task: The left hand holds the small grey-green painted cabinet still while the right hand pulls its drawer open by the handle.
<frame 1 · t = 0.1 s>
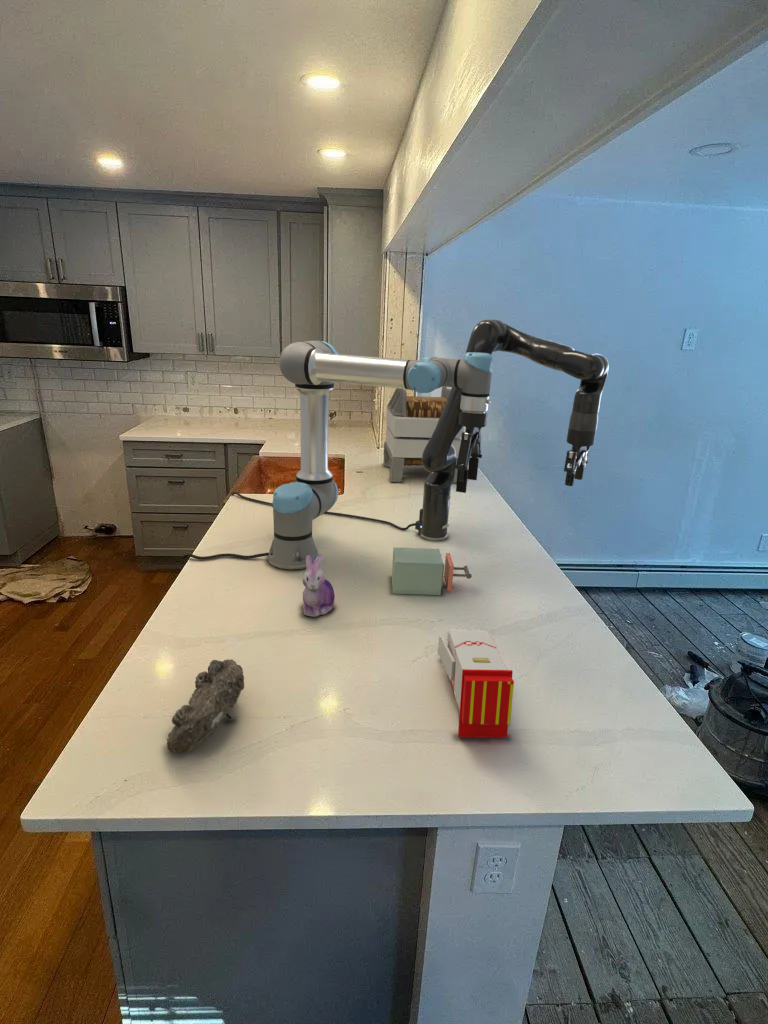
left hand: (466, 485, 162), 28 cm above the counter, tool pointing down, fingers open, 13 cm apart
right hand: (573, 482, 165), 29 cm above the counter, tool pointing down, fingers open, 8 cm apart
fossil: (212, 717, 108), on the counter
drawer: (439, 571, 161), point 5 cm above the counter, slide at 1.9 cm
figurine: (318, 609, 148), on the counter
cabinet: (415, 585, 163), on the counter
toy: (469, 691, 119), on the counter
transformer: (419, 473, 275), on the counter
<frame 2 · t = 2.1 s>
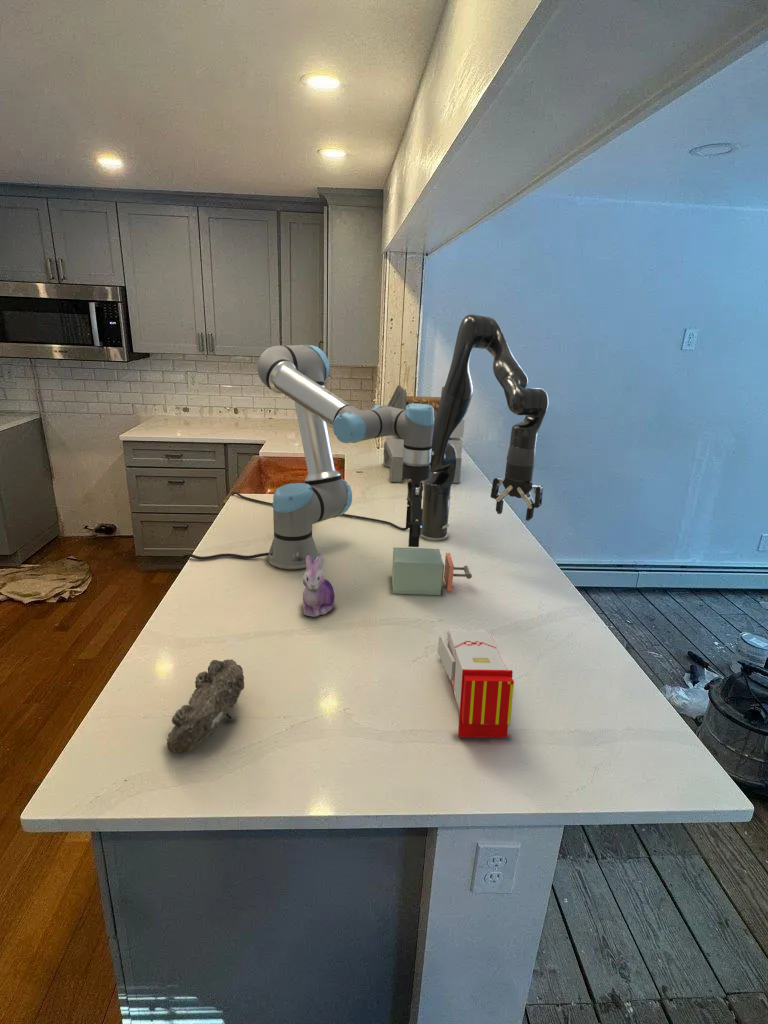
left hand: (411, 536, 158), 15 cm above the counter, tool pointing down, fingers open, 13 cm apart
right hand: (513, 516, 162), 20 cm above the counter, tool pointing down, fingers open, 8 cm apart
nothing on the counter moved.
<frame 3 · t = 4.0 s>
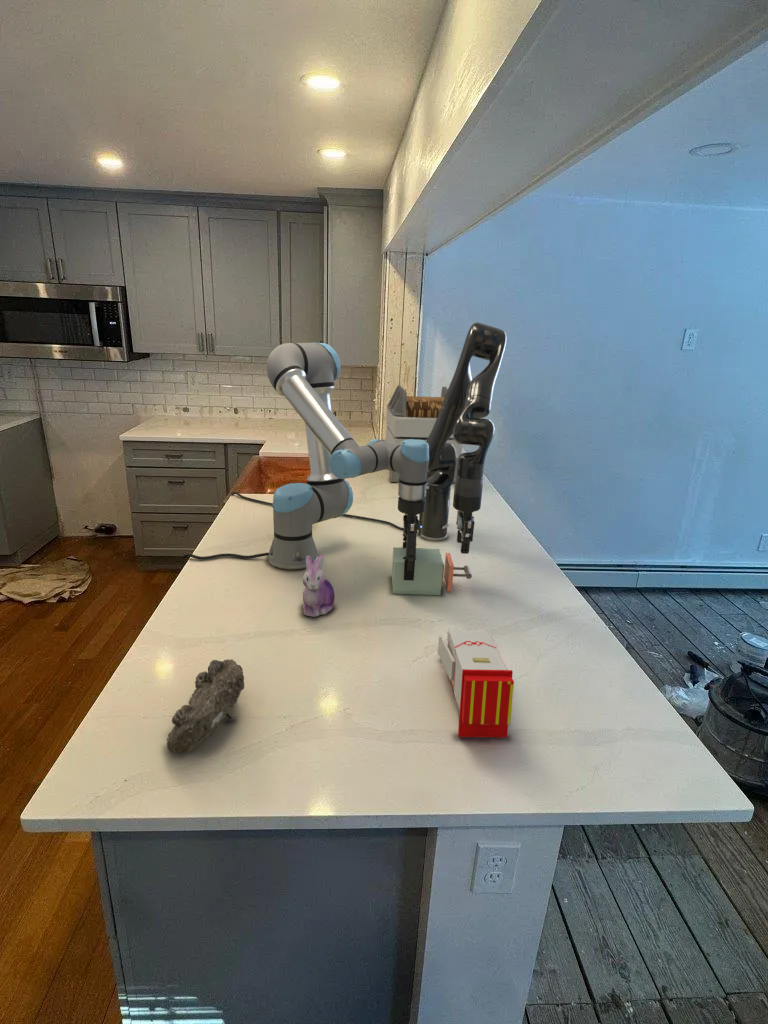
left hand: (407, 571, 161), 5 cm above the counter, tool pointing down, fingers closed on cabinet, 10 cm apart
right hand: (462, 547, 159), 12 cm above the counter, tool pointing down, fingers open, 7 cm apart
cabinet: (415, 585, 163), on the counter, touching left hand
everything else where it was.
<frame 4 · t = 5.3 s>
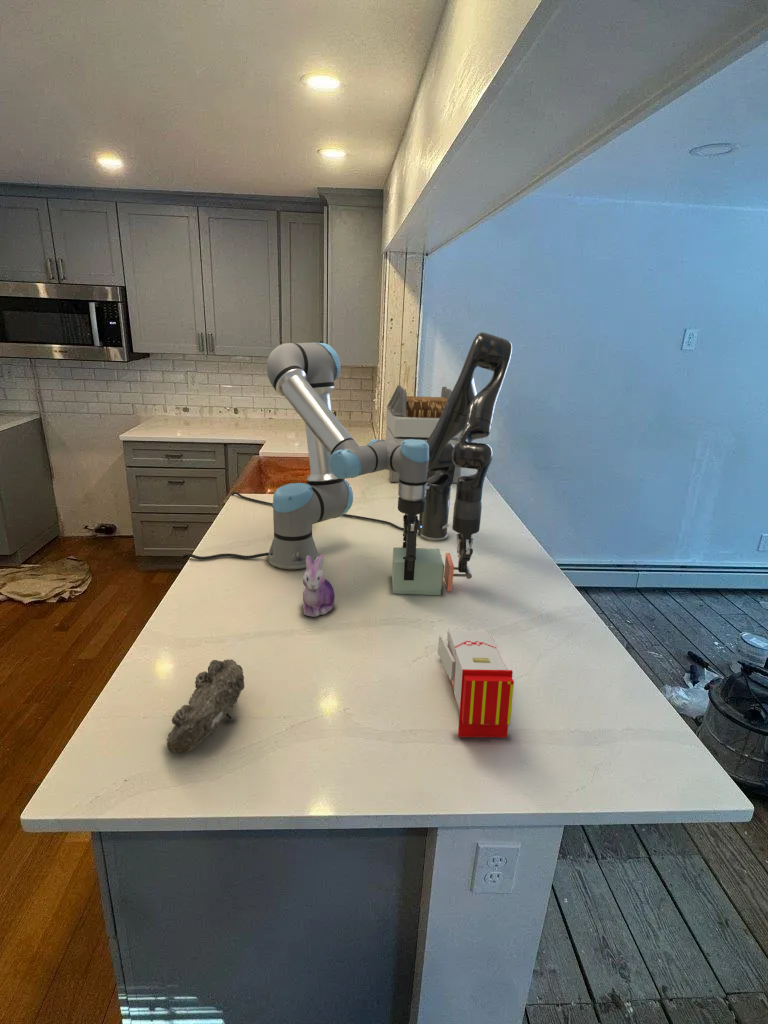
left hand: (407, 571, 161), 5 cm above the counter, tool pointing down, fingers closed on cabinet, 10 cm apart
right hand: (462, 571, 161), 5 cm above the counter, tool pointing down, fingers closed
drawer: (439, 571, 161), point 5 cm above the counter, slide at 1.9 cm, touching right hand
cabinet: (415, 585, 163), on the counter, touching left hand
everything else where it was.
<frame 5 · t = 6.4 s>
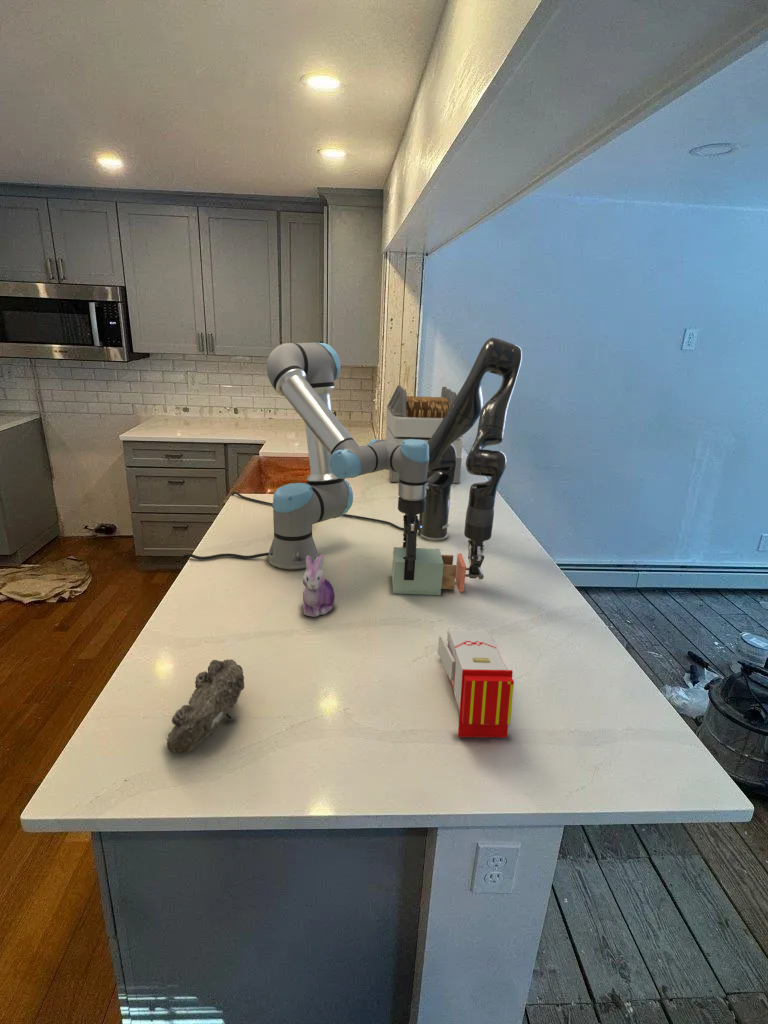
left hand: (407, 571, 161), 5 cm above the counter, tool pointing down, fingers closed on cabinet, 10 cm apart
right hand: (472, 577, 162), 3 cm above the counter, tool pointing down, fingers closed
drawer: (451, 571, 162), point 5 cm above the counter, slide at 5.2 cm, touching right hand
cabinet: (415, 585, 163), on the counter, touching left hand
everything else where it was.
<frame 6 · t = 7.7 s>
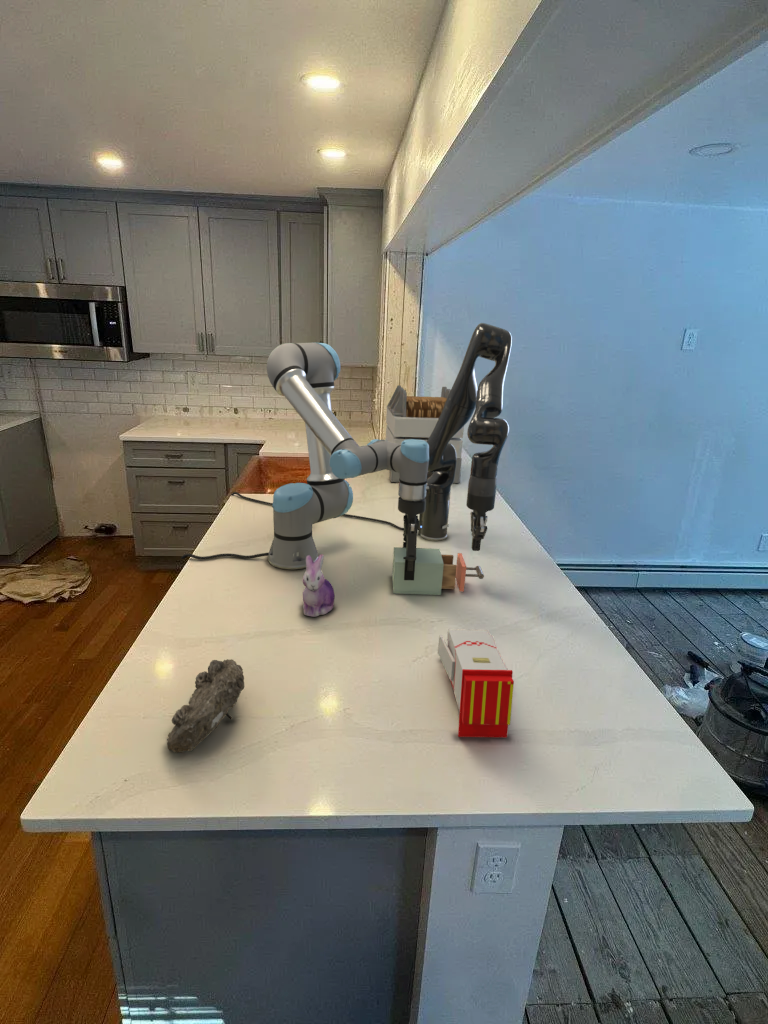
left hand: (407, 571, 161), 5 cm above the counter, tool pointing down, fingers closed on cabinet, 10 cm apart
right hand: (475, 549, 159), 12 cm above the counter, tool pointing down, fingers closed
drawer: (451, 571, 162), point 5 cm above the counter, slide at 5.3 cm
cabinet: (415, 585, 163), on the counter, touching left hand
everything else where it was.
when the left hand's fingers open (5 cm above the counter, at t = 8.2 s): cabinet stays where it is, on the counter.
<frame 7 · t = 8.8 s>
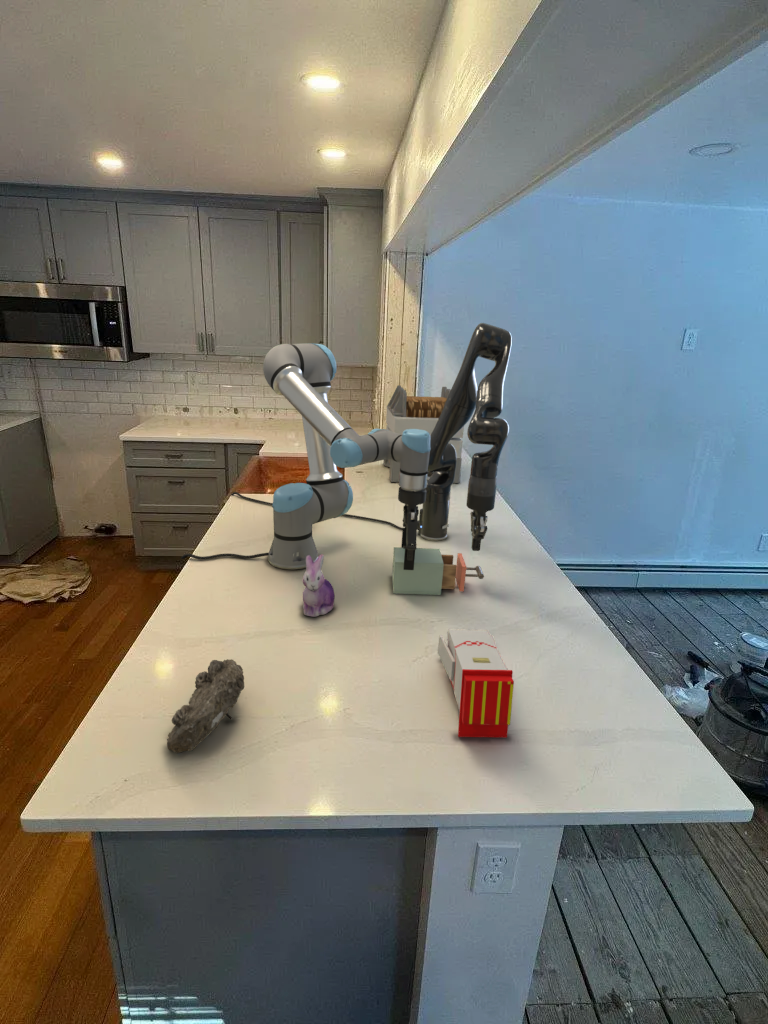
left hand: (407, 558, 160), 8 cm above the counter, tool pointing down, fingers open, 13 cm apart
right hand: (475, 549, 159), 12 cm above the counter, tool pointing down, fingers closed
cabinet: (415, 585, 163), on the counter
everything else where it was.
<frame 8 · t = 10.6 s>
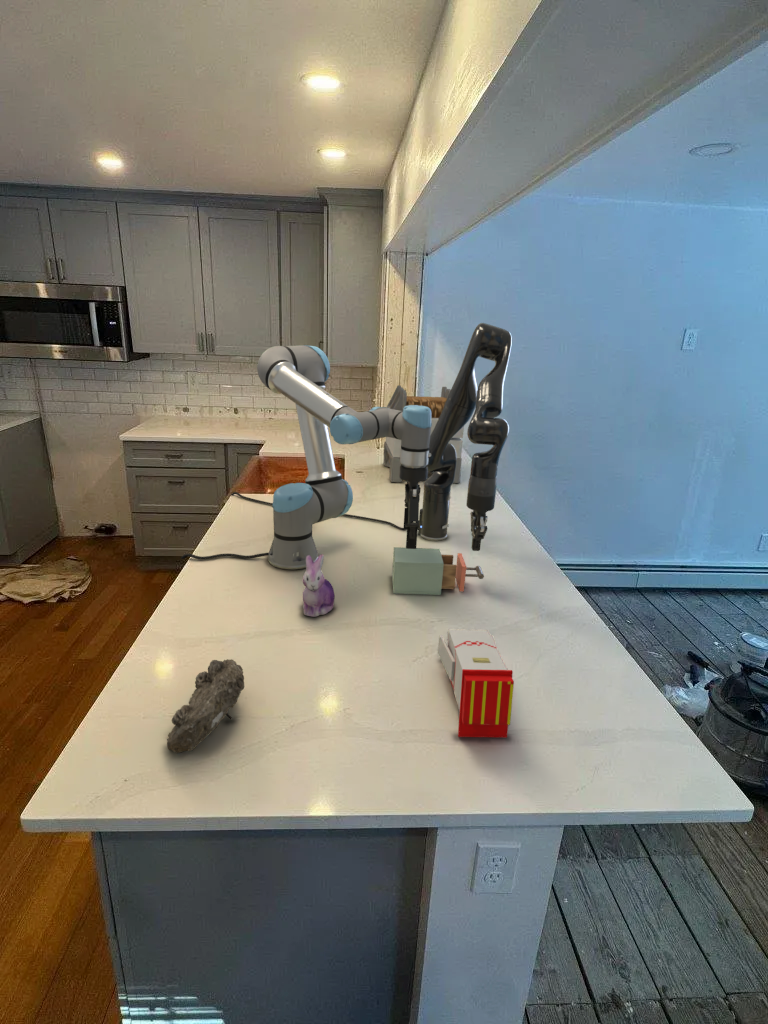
left hand: (409, 538, 158), 15 cm above the counter, tool pointing down, fingers open, 13 cm apart
right hand: (475, 549, 159), 12 cm above the counter, tool pointing down, fingers closed
nothing on the counter moved.
at the end: drawer slide at 5.3 cm; cabinet tilted 0°; cabinet never tilted more than 1° during the clip; cabinet moved 0.1 cm from its start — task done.
